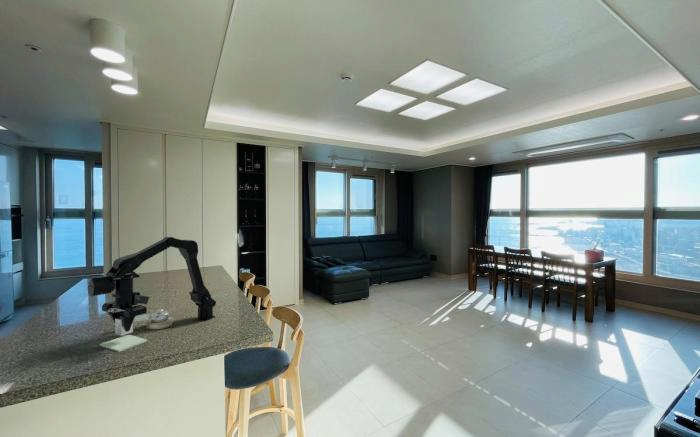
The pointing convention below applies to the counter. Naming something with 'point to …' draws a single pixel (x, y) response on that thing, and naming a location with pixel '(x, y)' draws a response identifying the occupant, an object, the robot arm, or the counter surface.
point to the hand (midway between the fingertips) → (124, 330)
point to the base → (159, 324)
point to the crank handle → (154, 316)
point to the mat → (123, 343)
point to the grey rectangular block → (121, 327)
